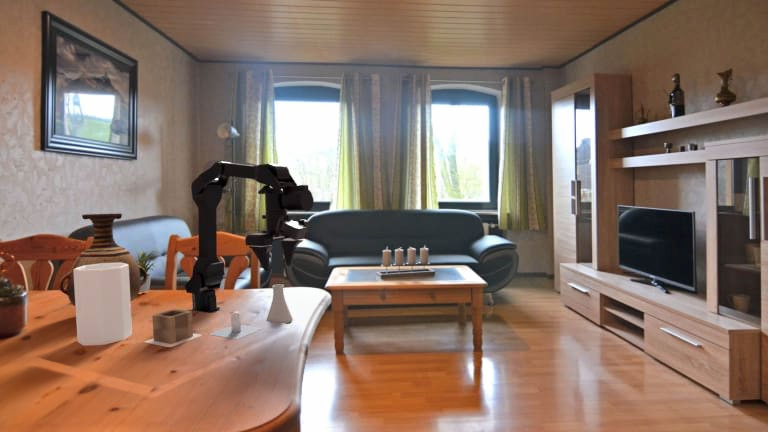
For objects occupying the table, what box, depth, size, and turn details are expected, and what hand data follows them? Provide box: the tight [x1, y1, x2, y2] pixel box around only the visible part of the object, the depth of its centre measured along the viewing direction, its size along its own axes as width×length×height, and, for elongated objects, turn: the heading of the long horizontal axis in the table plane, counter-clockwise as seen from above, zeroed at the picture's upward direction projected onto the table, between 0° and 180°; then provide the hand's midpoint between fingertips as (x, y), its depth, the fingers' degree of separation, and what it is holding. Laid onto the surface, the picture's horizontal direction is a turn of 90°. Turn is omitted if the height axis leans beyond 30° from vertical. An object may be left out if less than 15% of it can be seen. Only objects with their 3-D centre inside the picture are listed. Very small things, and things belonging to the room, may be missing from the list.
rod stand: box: [144, 333, 203, 348], centre depth 107 cm, size 9×9×4 cm
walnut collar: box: [152, 308, 194, 344], centre depth 107 cm, size 6×6×6 cm
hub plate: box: [208, 311, 264, 340], centre depth 111 cm, size 9×9×6 cm
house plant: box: [134, 249, 160, 292], centre depth 161 cm, size 14×14×16 cm
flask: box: [265, 283, 293, 324], centre depth 123 cm, size 7×7×10 cm
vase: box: [58, 212, 148, 307], centre depth 132 cm, size 21×18×30 cm
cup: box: [73, 263, 133, 346], centre depth 108 cm, size 11×11×18 cm
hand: (278, 268), depth 122 cm, fingers open, 9 cm apart
